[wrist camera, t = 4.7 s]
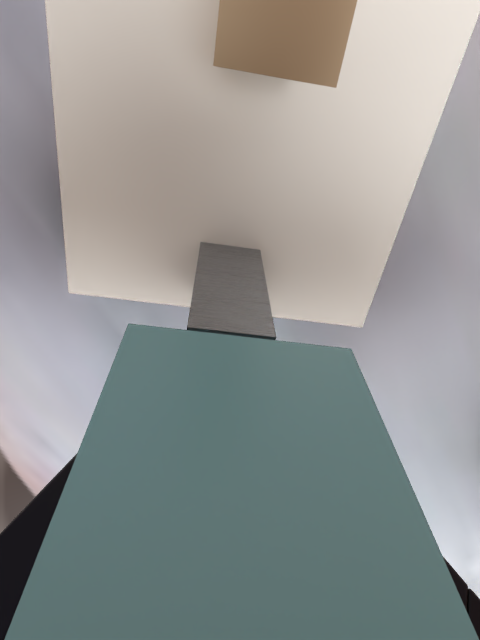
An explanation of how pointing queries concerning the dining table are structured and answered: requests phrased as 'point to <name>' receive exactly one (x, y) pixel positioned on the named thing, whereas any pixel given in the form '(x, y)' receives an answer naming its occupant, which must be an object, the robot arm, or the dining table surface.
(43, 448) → the dining table surface
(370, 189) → the board
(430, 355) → the dining table surface
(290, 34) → the oak post
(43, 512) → the robot arm
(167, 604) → the teal block
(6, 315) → the dining table surface
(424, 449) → the dining table surface
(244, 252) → the grey post
